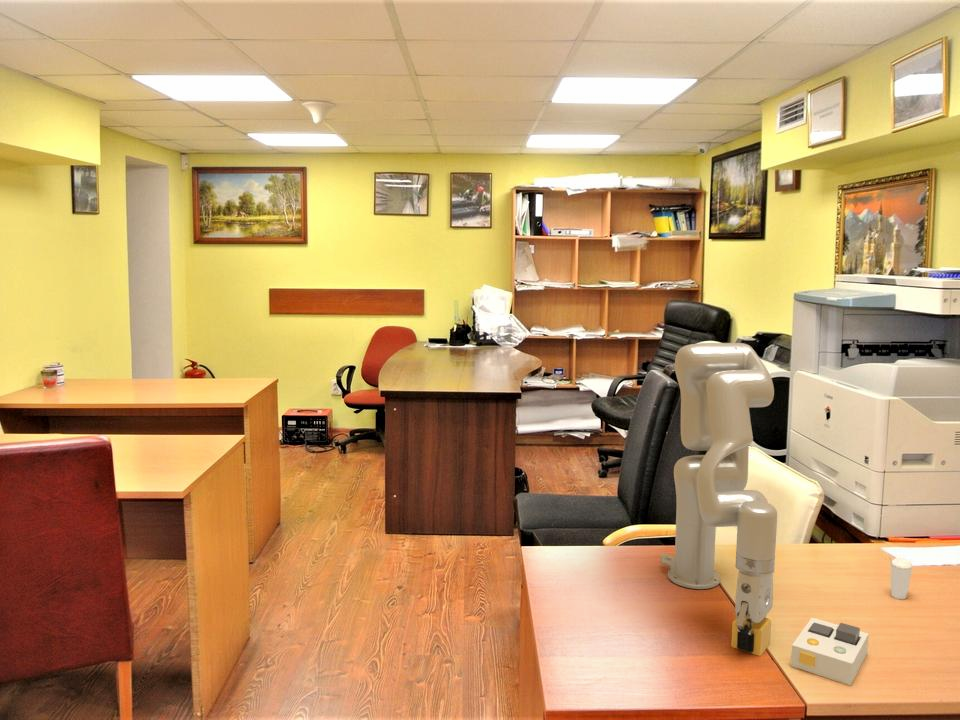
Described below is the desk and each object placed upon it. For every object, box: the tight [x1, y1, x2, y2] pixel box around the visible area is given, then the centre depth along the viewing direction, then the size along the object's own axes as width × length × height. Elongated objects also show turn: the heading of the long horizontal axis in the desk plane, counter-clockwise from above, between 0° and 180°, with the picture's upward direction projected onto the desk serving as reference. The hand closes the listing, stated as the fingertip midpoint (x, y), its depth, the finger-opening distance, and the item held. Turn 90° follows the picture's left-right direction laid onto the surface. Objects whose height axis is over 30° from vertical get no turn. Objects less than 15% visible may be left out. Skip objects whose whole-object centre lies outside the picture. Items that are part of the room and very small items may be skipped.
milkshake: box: [889, 556, 913, 600], centre depth 180 cm, size 5×5×10 cm
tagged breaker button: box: [809, 623, 833, 638], centre depth 157 cm, size 4×4×4 cm
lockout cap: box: [730, 615, 772, 657], centre depth 159 cm, size 6×6×6 cm
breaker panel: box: [790, 617, 870, 687], centre depth 153 cm, size 11×14×5 cm
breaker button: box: [835, 622, 861, 646], centre depth 153 cm, size 4×4×4 cm
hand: (750, 642), depth 159 cm, fingers closed on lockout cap, 6 cm apart
